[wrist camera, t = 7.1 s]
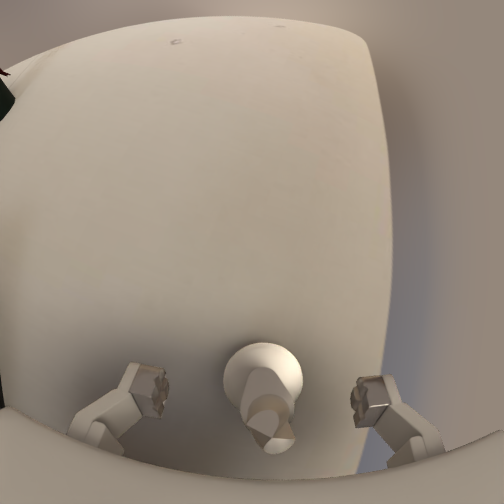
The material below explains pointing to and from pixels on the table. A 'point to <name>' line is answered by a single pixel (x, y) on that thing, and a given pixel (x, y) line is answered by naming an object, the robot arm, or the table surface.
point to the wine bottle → (5, 97)
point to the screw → (265, 392)
